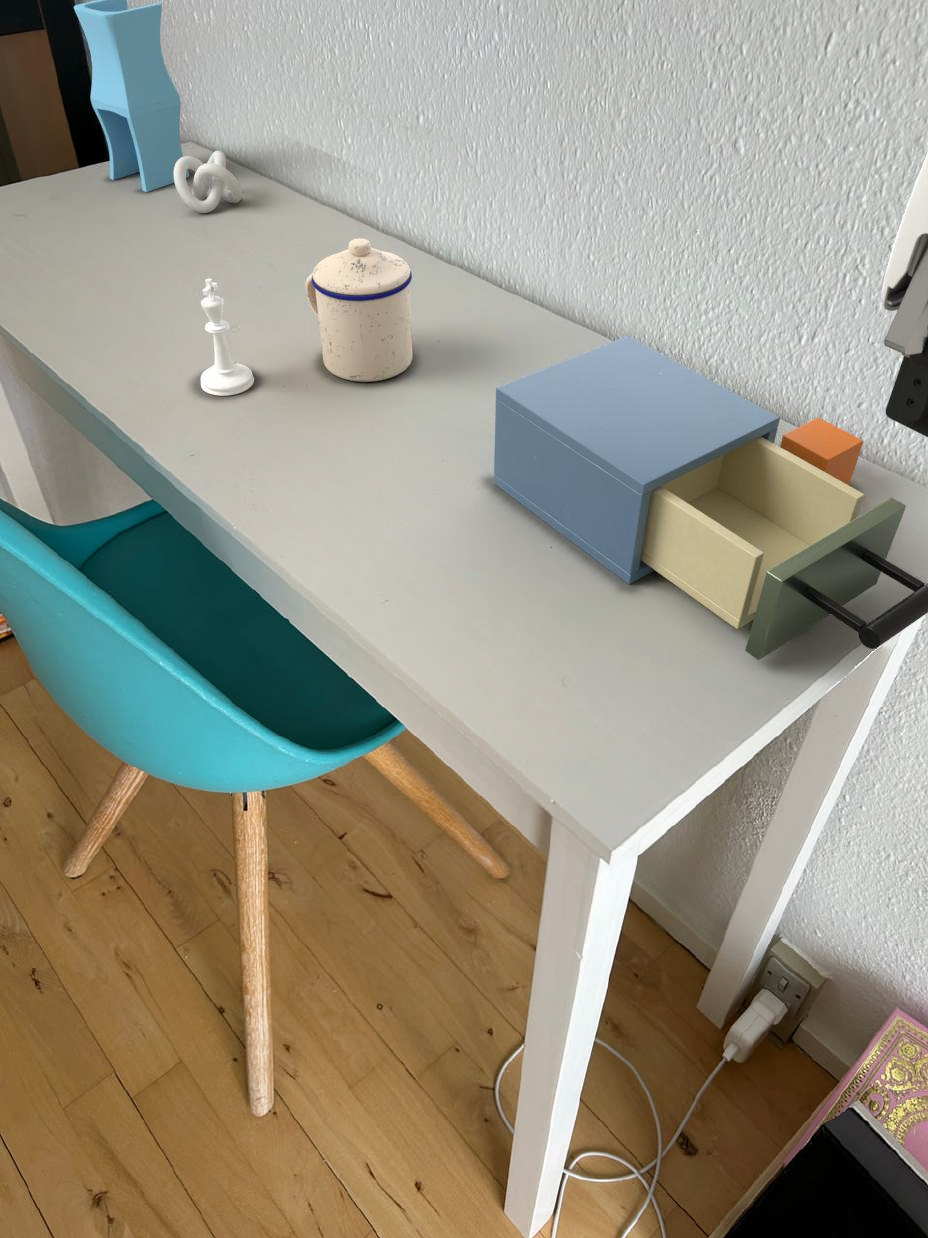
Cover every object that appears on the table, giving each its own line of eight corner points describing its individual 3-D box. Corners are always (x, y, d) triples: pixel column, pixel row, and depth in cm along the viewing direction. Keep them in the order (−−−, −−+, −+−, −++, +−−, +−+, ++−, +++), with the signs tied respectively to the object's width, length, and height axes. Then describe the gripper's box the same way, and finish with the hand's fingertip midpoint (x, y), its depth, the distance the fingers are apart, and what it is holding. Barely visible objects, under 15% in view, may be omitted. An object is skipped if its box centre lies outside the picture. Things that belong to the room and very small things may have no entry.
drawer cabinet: (756, 514, 77) (780, 417, 70) (629, 585, 70) (644, 484, 64) (616, 428, 86) (627, 335, 80) (493, 483, 80) (495, 387, 74)
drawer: (949, 628, 66) (986, 549, 61) (831, 714, 60) (862, 634, 55) (720, 487, 78) (737, 411, 73) (604, 548, 72) (614, 470, 67)
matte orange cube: (849, 486, 79) (864, 440, 76) (814, 506, 77) (828, 459, 74) (805, 462, 82) (818, 416, 79) (770, 480, 80) (782, 434, 77)
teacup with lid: (434, 357, 95) (431, 238, 87) (370, 395, 90) (361, 272, 82) (345, 321, 101) (335, 206, 93) (280, 355, 95) (263, 236, 87)
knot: (258, 198, 126) (251, 150, 122) (225, 221, 120) (217, 171, 116) (207, 191, 128) (199, 143, 124) (173, 212, 122) (163, 163, 118)
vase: (194, 175, 132) (162, 3, 118) (146, 192, 127) (108, 15, 114) (157, 162, 135) (122, -6, 122) (109, 178, 131) (68, 5, 117)
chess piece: (190, 390, 91) (168, 286, 84) (219, 365, 94) (199, 264, 87) (236, 400, 89) (217, 295, 82) (263, 375, 93) (247, 272, 86)
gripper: (1043, 109, 37) (894, 503, 49) (1222, 46, 43) (1050, 408, 56) (873, 65, 41) (776, 438, 54) (1059, 14, 48) (934, 356, 60)
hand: (916, 422), depth 55 cm, fingers closed
